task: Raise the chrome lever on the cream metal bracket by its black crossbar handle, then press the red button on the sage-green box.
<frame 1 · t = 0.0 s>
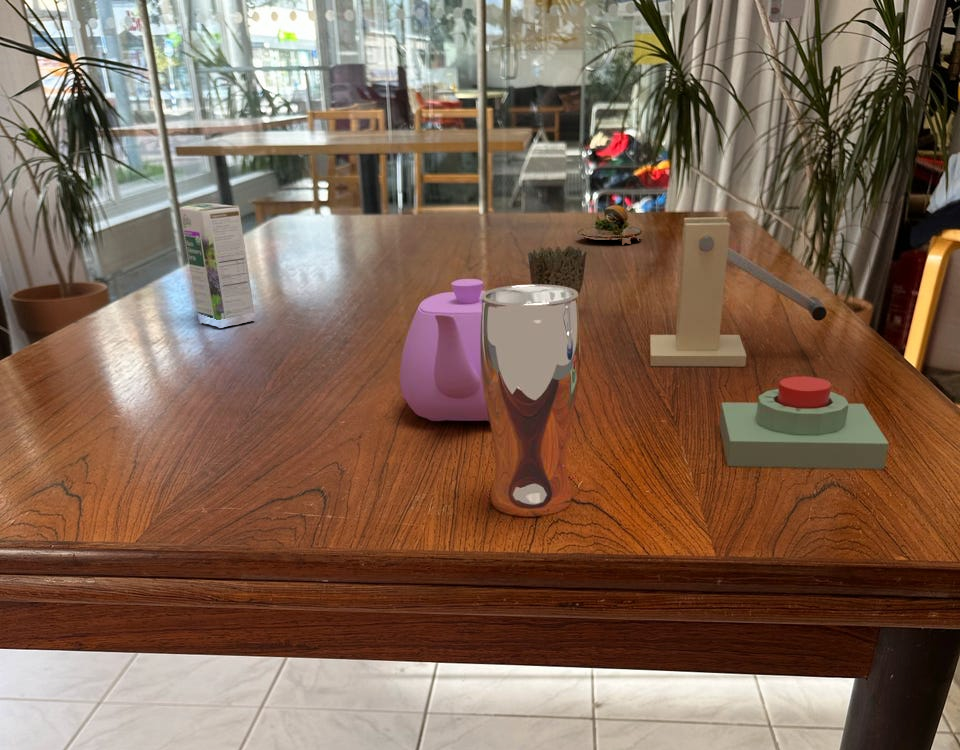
hand: (784, 20, 85), 31 cm above the table, tool pointing down, fingers open, 8 cm apart
button box: (796, 446, 79), on the table
beer glass: (531, 503, 71), on the table
moss table decoration: (609, 242, 174), on the table
bracket: (695, 355, 104), on the table
button: (803, 393, 77), point 4 cm above the table, slide at 0.1 cm
teapot: (470, 414, 90), on the table
syrup box: (228, 324, 127), on the table
lever: (758, 272, 99), point 9 cm above the table, hinge at -30.0°
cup: (556, 316, 124), on the table
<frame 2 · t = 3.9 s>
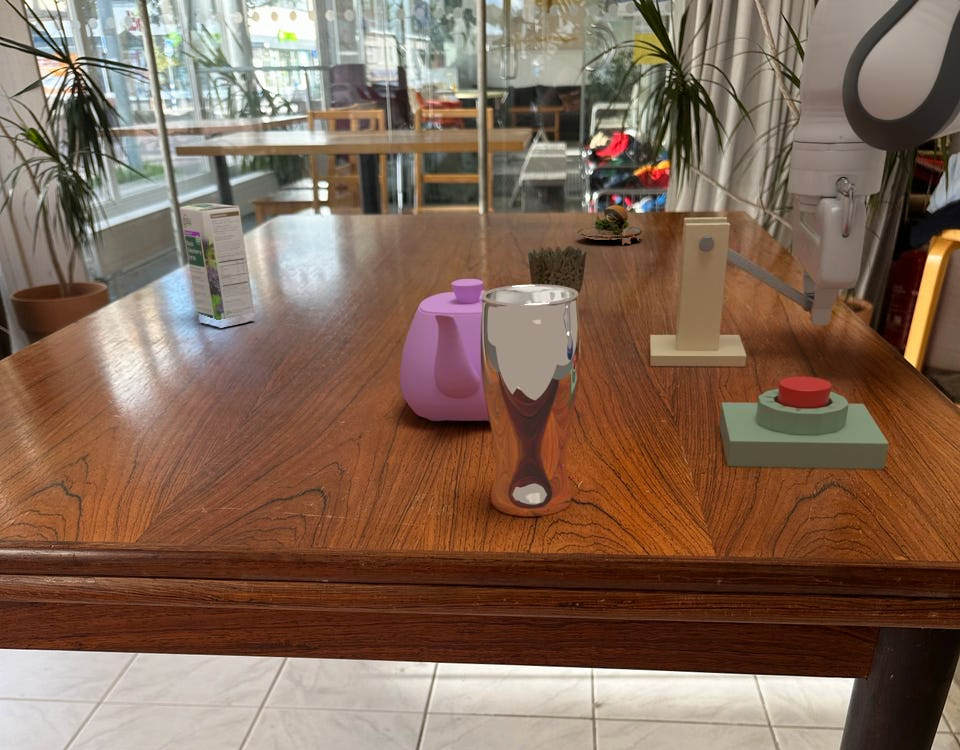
hand: (814, 317, 100), 4 cm above the table, tool pointing down, fingers closed on lever, 5 cm apart
lever: (758, 272, 99), point 9 cm above the table, hinge at -30.0°, touching gripper
everything else where it was.
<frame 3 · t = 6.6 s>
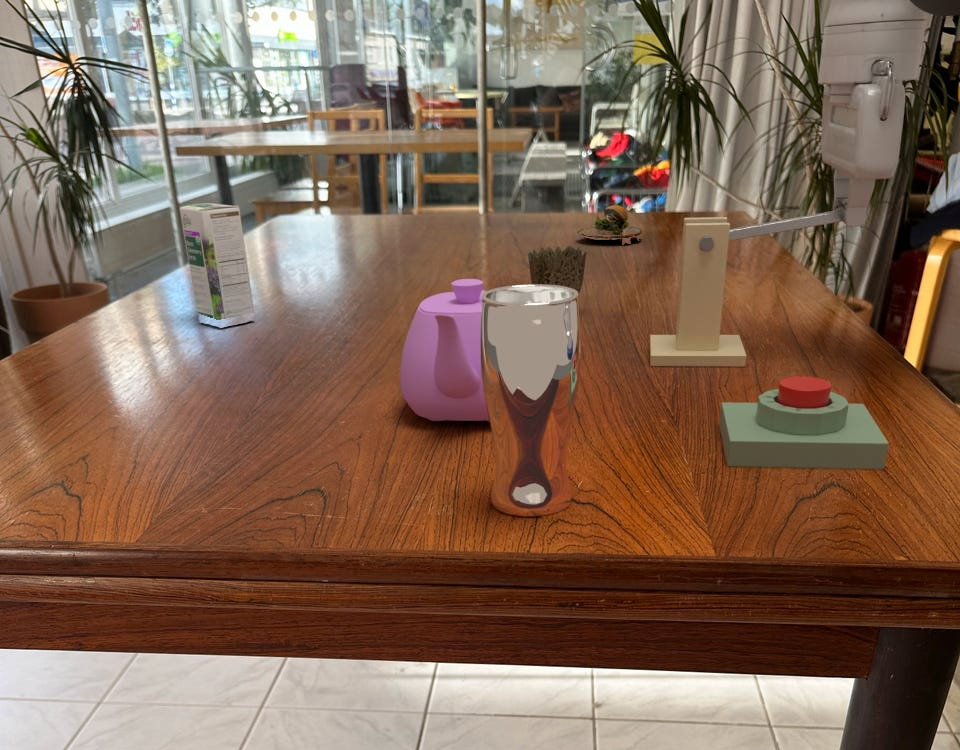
hand: (847, 221, 95), 14 cm above the table, tool pointing down, fingers closed on lever, 5 cm apart
lever: (771, 227, 97), point 13 cm above the table, hinge at 8.9°, touching gripper
everything else where it was.
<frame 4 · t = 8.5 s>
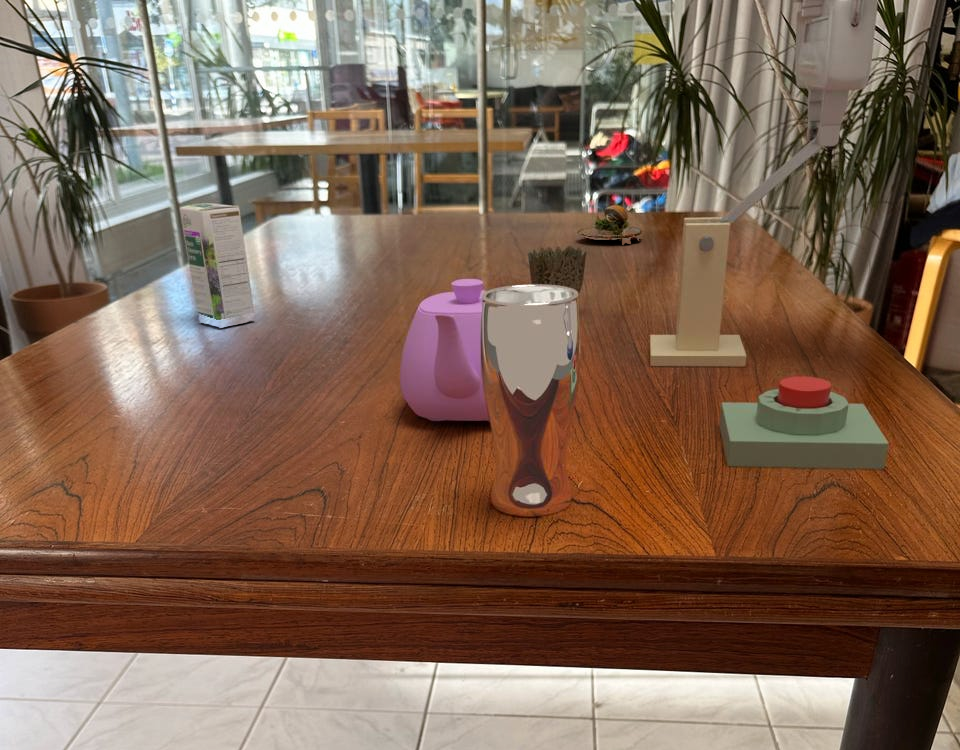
hand: (821, 143, 92), 21 cm above the table, tool pointing down, fingers closed on lever, 5 cm apart
lever: (759, 192, 95), point 16 cm above the table, hinge at 40.7°, touching gripper
everything else where it was.
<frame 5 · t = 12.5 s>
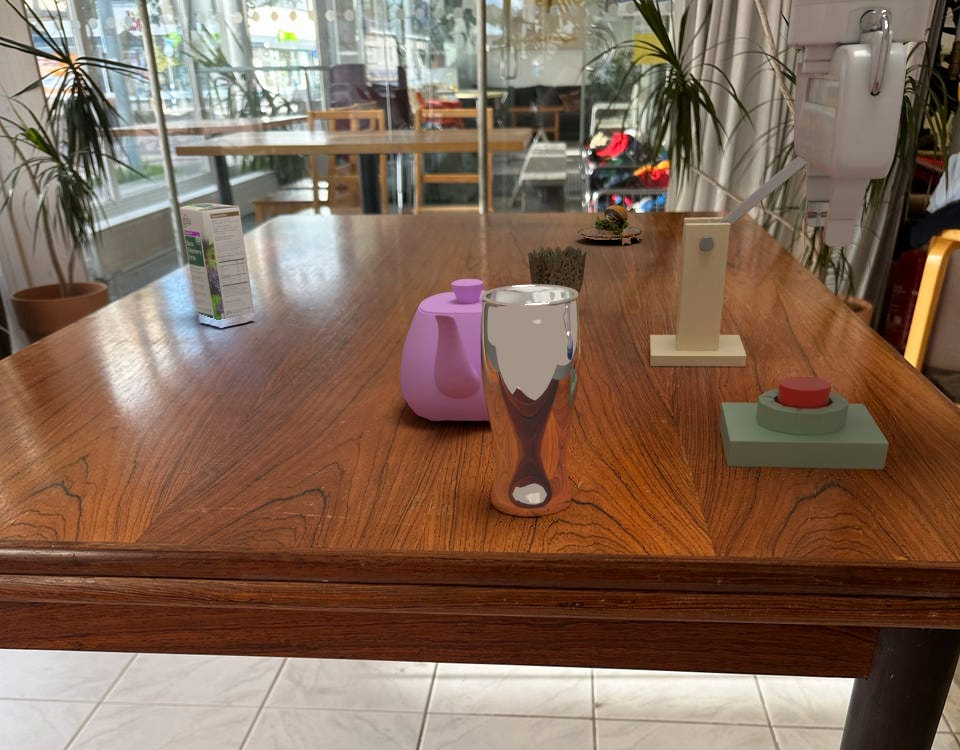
hand: (825, 235, 71), 16 cm above the table, tool pointing down, fingers open, 8 cm apart
lever: (760, 193, 95), point 16 cm above the table, hinge at 39.2°
everything else where it was.
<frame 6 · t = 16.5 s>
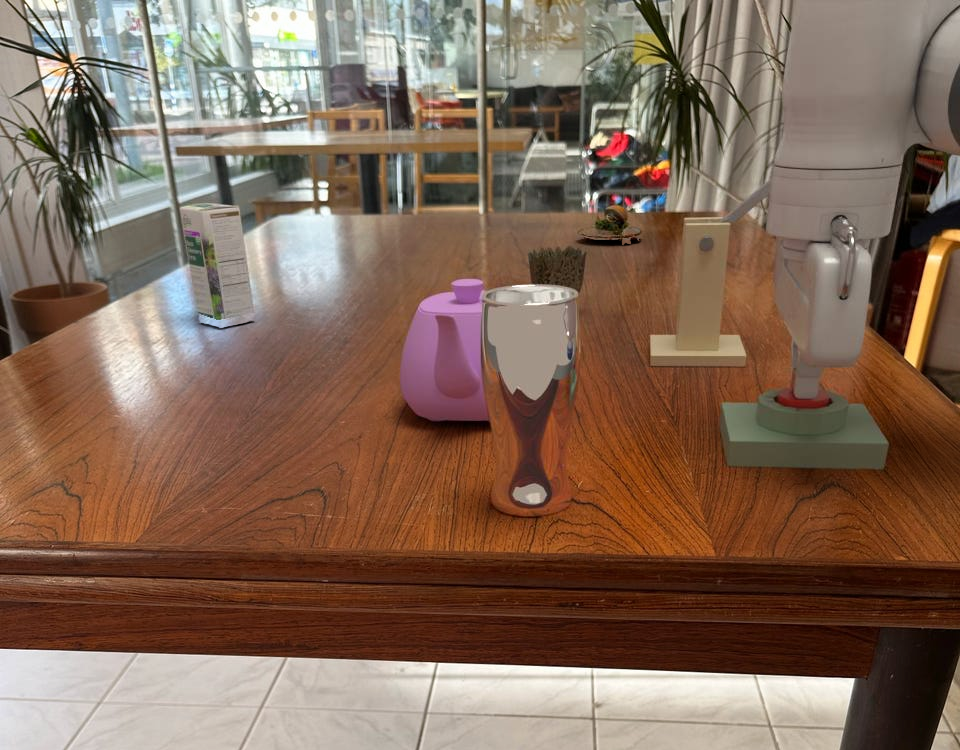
hand: (802, 393, 77), 5 cm above the table, tool pointing down, fingers closed, pressing on button
button: (802, 404, 77), point 4 cm above the table, slide at -0.8 cm, touching gripper
everything else where it was.
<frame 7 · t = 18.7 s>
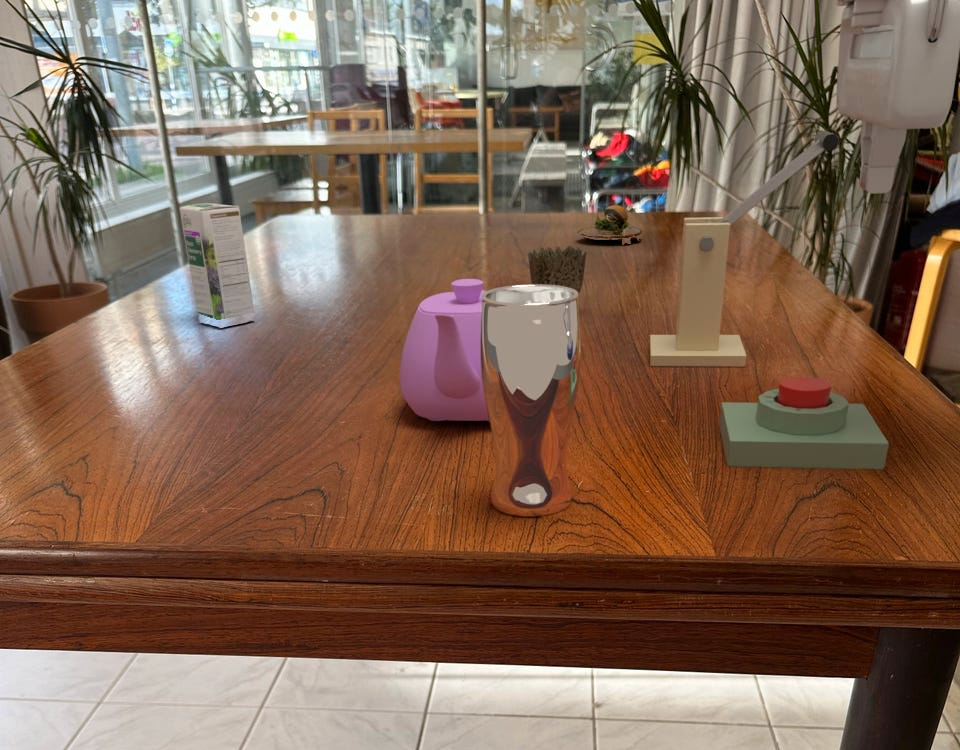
hand: (874, 191, 71), 19 cm above the table, tool pointing down, fingers closed
button: (803, 393, 77), point 4 cm above the table, slide at 0.1 cm
everything else where it was.
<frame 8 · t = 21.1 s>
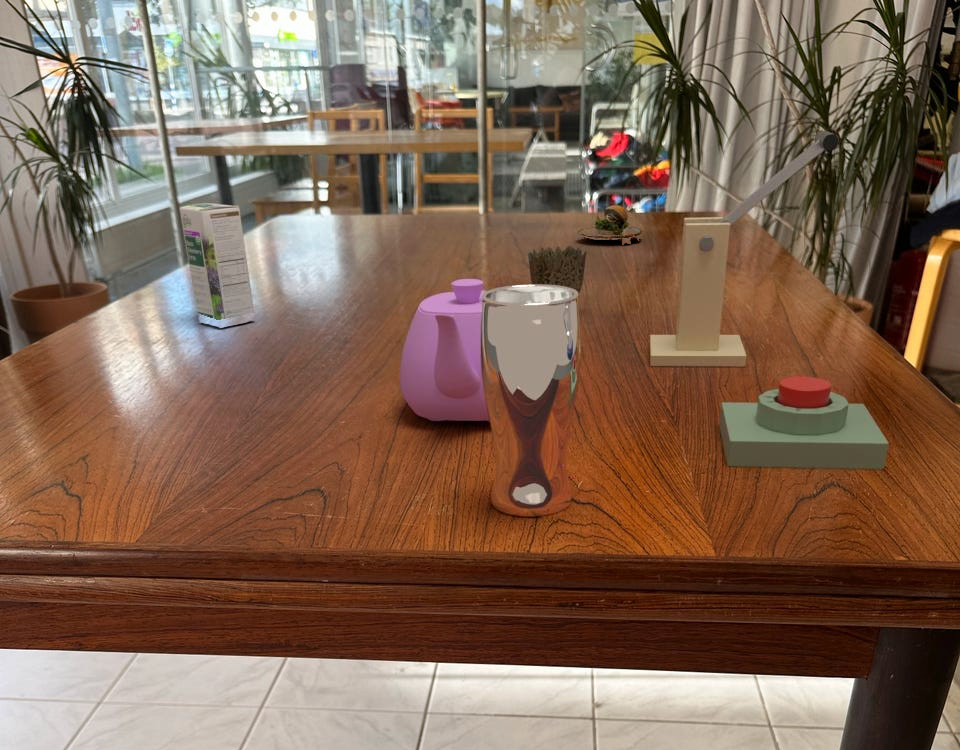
nothing on the table moved.
at the end: lever at +39° (first picture: -30°); button pushed in 1.2 cm at the most during the clip, back to where it started at the end; button slide at 0.1 cm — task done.
